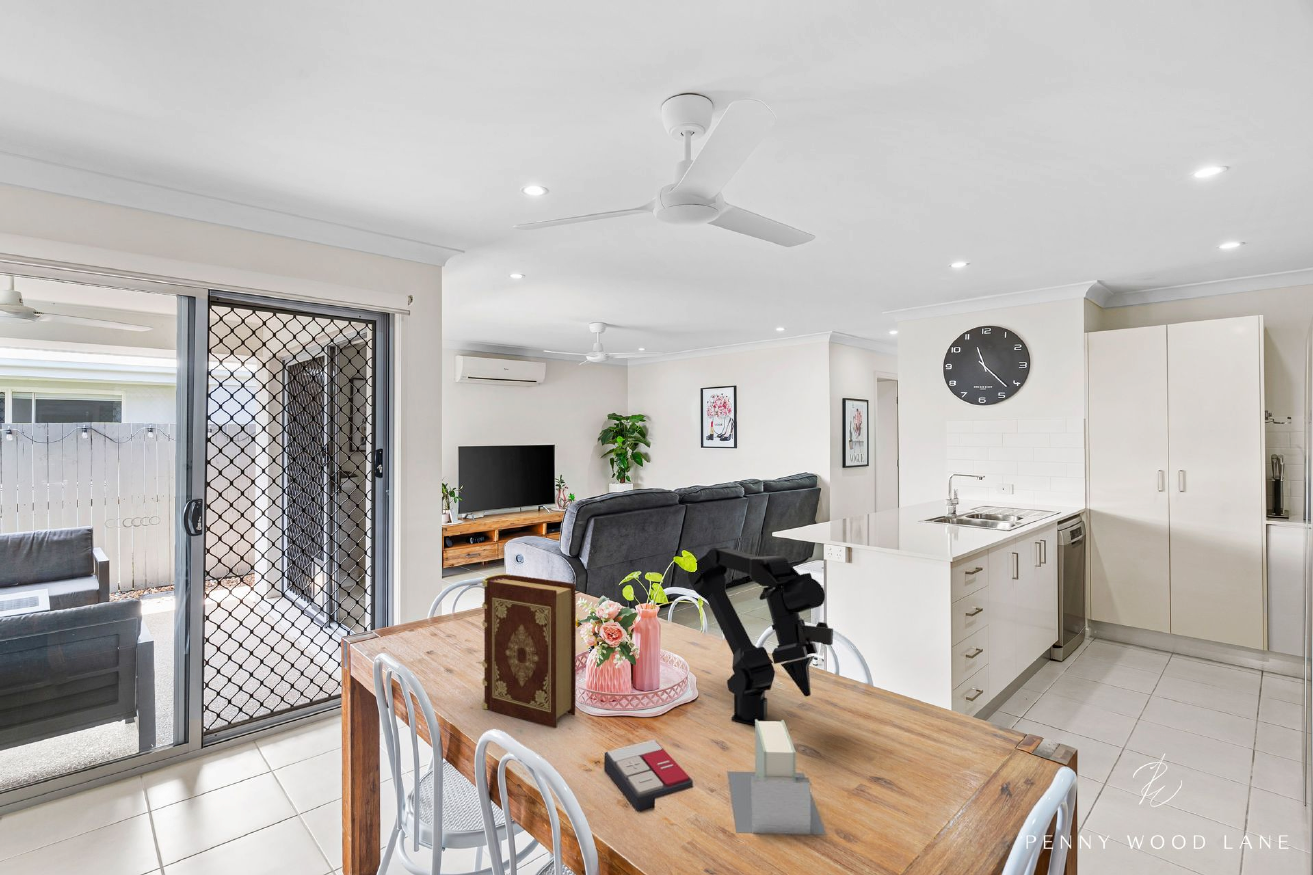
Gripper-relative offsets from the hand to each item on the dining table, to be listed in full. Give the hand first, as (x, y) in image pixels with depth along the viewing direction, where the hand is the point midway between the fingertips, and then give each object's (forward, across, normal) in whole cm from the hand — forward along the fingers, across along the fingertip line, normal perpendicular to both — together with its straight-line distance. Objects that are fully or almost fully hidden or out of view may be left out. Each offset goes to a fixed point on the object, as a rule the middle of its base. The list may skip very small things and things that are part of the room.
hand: (808, 695), depth 123 cm
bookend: (+16, -24, +6) cm, 30 cm away
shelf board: (+15, -17, +8) cm, 24 cm away
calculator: (+8, -17, +30) cm, 36 cm away
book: (+14, -19, +7) cm, 25 cm away
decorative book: (-9, -2, +64) cm, 64 cm away
